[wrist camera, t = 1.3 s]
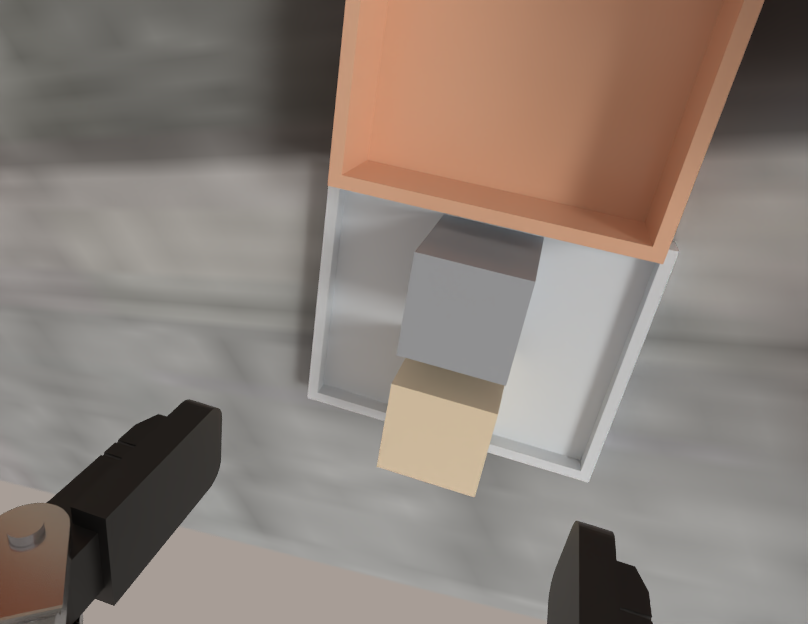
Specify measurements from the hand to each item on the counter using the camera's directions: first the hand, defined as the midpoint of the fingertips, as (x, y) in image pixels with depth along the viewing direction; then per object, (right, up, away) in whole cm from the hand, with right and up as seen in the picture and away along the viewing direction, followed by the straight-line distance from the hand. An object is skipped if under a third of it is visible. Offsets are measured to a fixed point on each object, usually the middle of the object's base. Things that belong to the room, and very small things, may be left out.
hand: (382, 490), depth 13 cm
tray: (+4, +3, +14) cm, 15 cm away
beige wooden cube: (+3, +1, +15) cm, 15 cm away
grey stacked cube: (+4, +6, +12) cm, 14 cm away
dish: (+5, +13, +9) cm, 17 cm away
